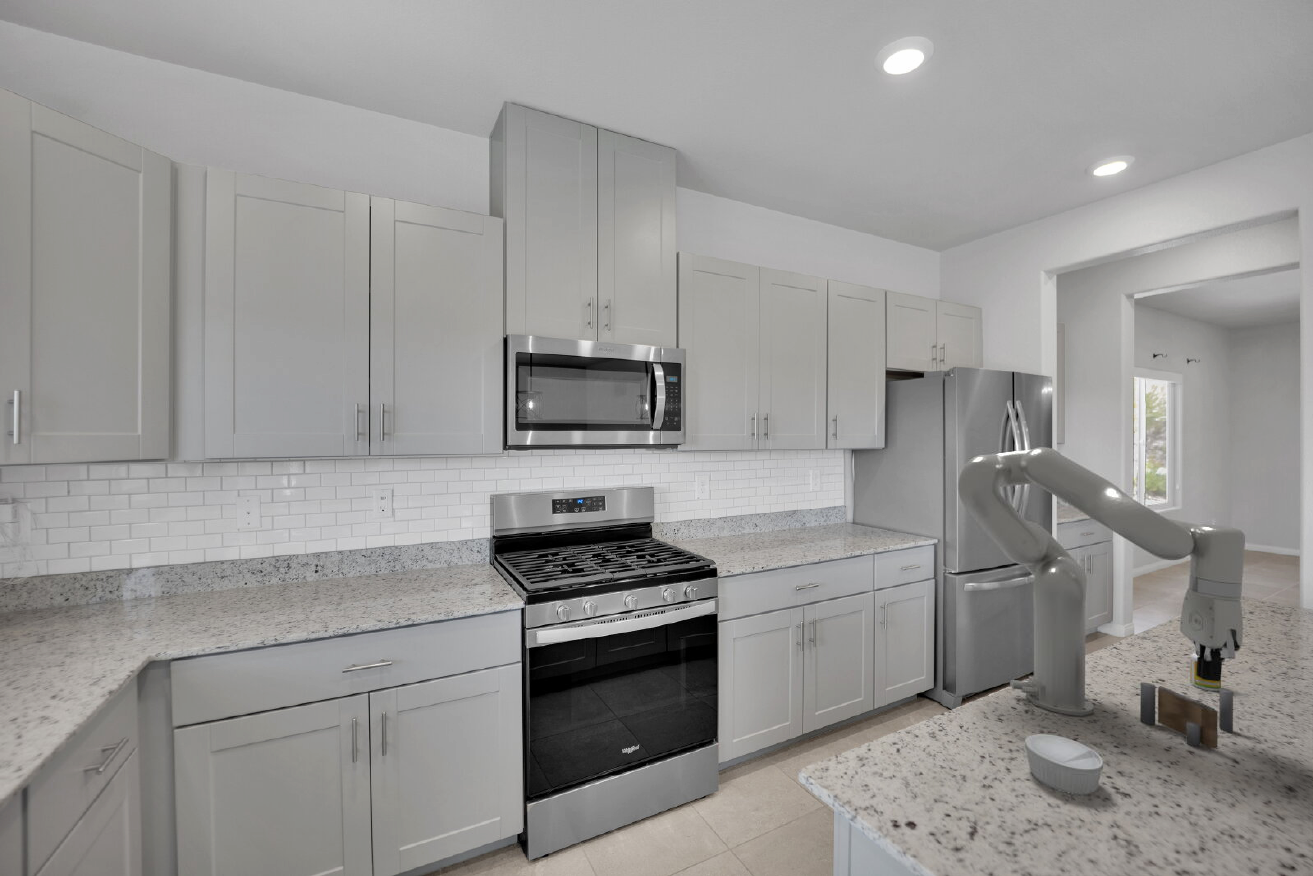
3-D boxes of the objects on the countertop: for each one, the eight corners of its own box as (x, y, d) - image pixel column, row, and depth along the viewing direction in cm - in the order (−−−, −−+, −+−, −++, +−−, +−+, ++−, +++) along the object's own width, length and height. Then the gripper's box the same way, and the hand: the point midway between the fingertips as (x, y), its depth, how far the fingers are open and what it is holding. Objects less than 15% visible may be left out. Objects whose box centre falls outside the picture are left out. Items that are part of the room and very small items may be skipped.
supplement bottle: (1227, 692, 136) (1227, 652, 136) (1200, 690, 137) (1200, 650, 138) (1210, 683, 142) (1210, 644, 142) (1184, 681, 143) (1185, 642, 143)
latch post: (1224, 732, 117) (1224, 692, 118) (1216, 727, 119) (1216, 688, 120) (1235, 733, 117) (1235, 693, 117) (1227, 728, 119) (1228, 689, 119)
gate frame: (1192, 748, 111) (1193, 706, 111) (1137, 720, 122) (1137, 682, 122) (1203, 747, 111) (1203, 706, 111) (1147, 719, 122) (1147, 682, 122)
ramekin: (1107, 808, 92) (1107, 776, 92) (1025, 785, 98) (1025, 755, 98) (1098, 775, 102) (1099, 745, 102) (1024, 756, 108) (1024, 727, 108)
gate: (1157, 722, 120) (1157, 686, 120) (1163, 722, 120) (1163, 686, 120) (1210, 748, 110) (1210, 708, 110) (1217, 747, 110) (1217, 708, 110)
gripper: (1167, 576, 122) (1161, 661, 123) (1221, 596, 108) (1214, 693, 108) (1208, 580, 121) (1202, 666, 121) (1269, 600, 106) (1261, 698, 106)
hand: (1208, 678), depth 115 cm, fingers closed
